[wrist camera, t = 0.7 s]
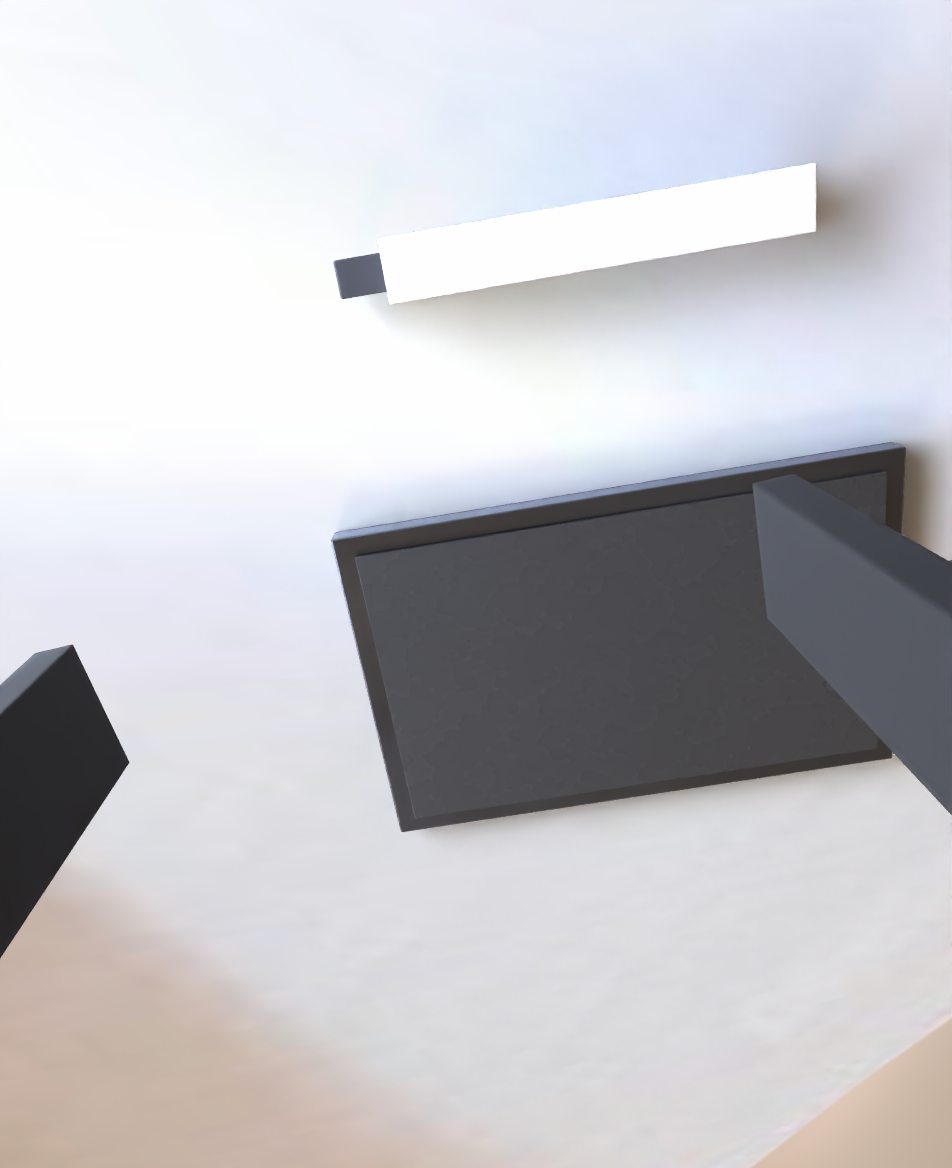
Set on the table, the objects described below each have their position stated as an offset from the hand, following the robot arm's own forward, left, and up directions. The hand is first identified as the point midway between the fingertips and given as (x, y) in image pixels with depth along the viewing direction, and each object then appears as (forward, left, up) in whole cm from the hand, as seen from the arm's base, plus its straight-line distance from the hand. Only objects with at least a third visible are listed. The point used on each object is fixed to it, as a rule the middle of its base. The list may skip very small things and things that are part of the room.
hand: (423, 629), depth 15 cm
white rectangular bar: (-7, +7, -16) cm, 19 cm away
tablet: (+9, +7, -16) cm, 20 cm away
